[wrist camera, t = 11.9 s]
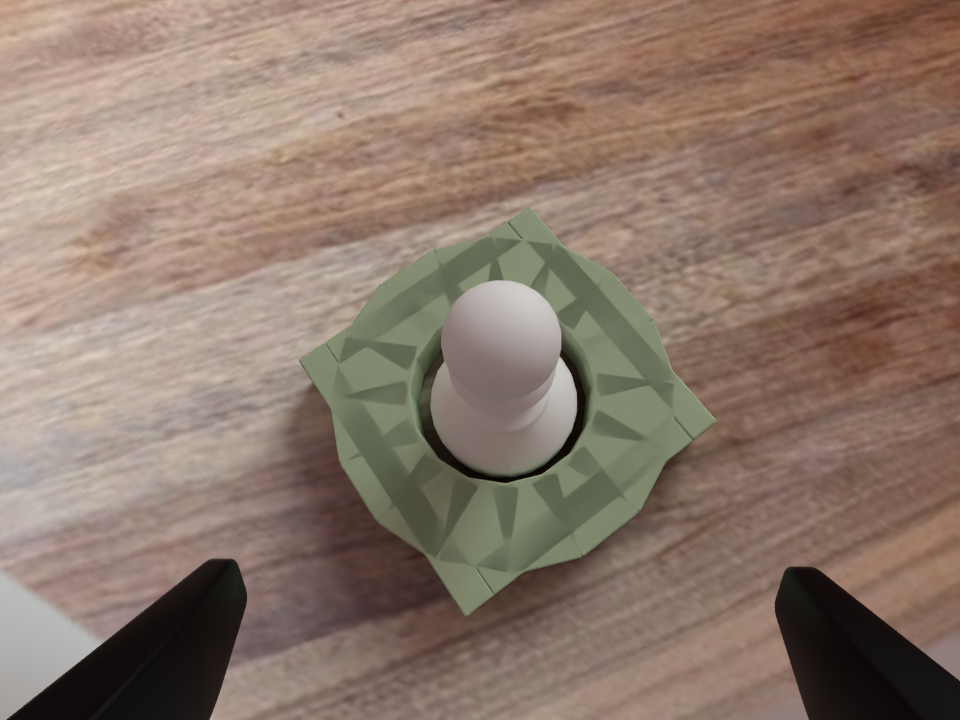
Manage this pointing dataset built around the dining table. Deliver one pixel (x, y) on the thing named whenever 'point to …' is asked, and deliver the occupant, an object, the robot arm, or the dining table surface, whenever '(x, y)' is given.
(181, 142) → the dining table surface
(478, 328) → the chess pawn
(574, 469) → the pad
